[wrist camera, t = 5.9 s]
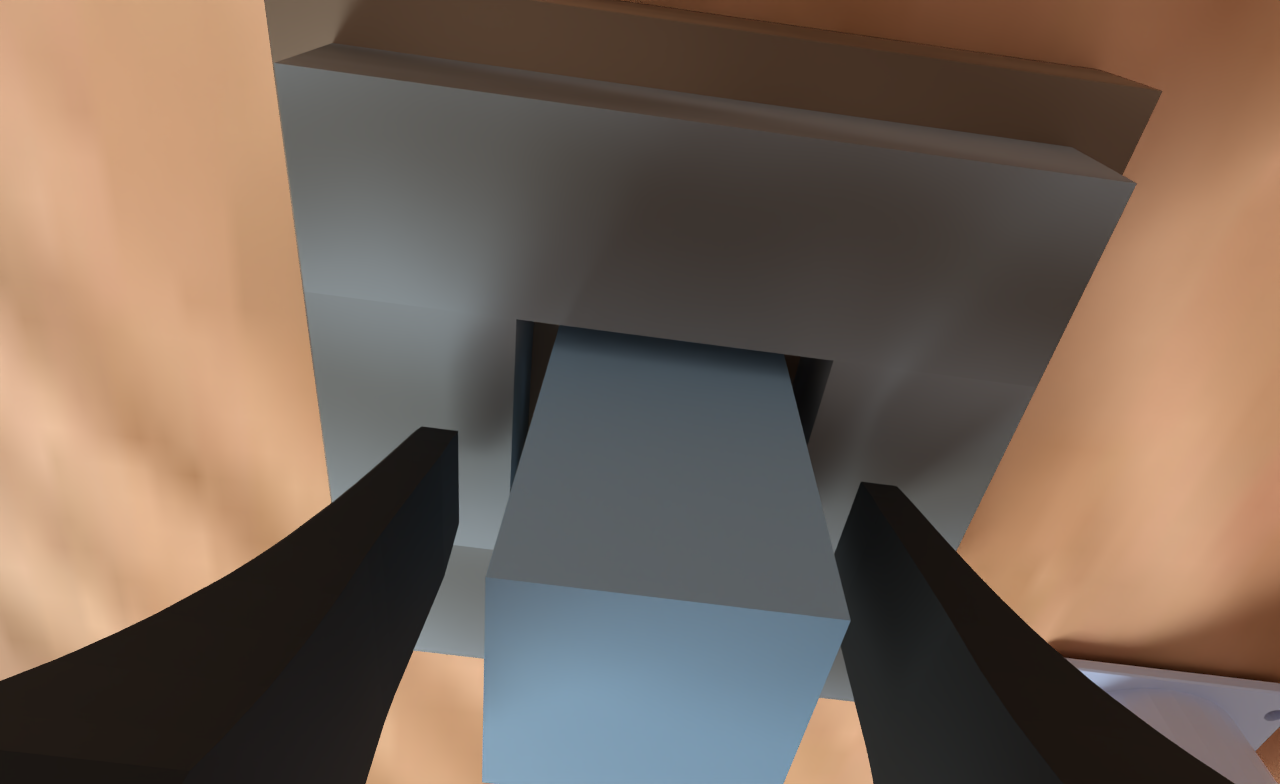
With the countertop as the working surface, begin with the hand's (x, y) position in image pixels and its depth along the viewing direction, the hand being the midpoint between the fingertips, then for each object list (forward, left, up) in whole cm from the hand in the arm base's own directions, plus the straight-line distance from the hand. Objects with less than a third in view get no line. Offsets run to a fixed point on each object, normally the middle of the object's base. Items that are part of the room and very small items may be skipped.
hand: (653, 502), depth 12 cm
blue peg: (0, 0, -3) cm, 3 cm away
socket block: (0, 0, -5) cm, 5 cm away
